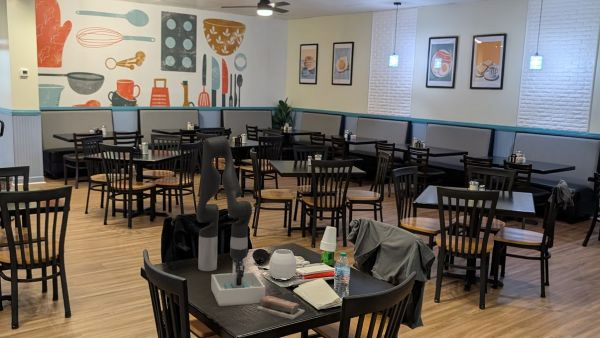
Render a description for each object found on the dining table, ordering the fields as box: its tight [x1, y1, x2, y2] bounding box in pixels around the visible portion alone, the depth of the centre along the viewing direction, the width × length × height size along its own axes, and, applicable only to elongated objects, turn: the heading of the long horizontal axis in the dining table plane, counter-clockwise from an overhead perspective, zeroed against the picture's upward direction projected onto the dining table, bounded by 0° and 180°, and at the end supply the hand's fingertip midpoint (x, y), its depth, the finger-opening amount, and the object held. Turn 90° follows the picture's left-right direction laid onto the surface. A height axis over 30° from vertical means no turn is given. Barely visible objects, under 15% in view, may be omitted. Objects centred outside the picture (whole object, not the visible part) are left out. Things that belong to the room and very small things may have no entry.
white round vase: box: [268, 248, 297, 280], centre depth 269 cm, size 13×13×14 cm
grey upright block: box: [232, 262, 245, 289], centre depth 243 cm, size 4×4×12 cm
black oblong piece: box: [251, 248, 272, 266], centre depth 294 cm, size 9×11×18 cm
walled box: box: [210, 271, 267, 307], centre depth 244 cm, size 20×20×7 cm
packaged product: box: [256, 295, 305, 320], centre depth 230 cm, size 18×5×10 cm
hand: (237, 283), depth 243 cm, fingers closed on grey upright block, 4 cm apart
